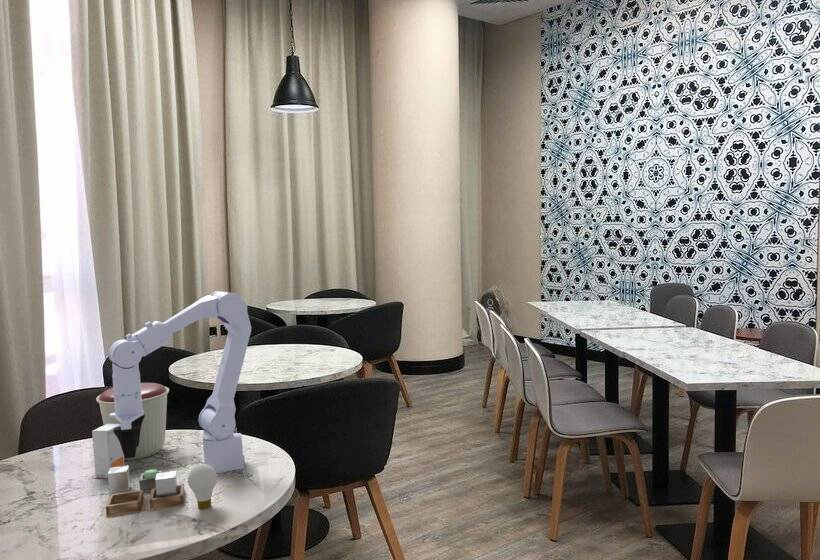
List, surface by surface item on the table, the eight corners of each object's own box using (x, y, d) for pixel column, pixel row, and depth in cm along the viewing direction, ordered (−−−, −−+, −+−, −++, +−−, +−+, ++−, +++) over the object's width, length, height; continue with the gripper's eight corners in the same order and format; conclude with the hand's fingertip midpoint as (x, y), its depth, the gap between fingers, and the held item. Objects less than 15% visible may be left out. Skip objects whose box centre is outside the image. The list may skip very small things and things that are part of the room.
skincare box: (110, 479, 164) (106, 431, 163) (95, 478, 165) (90, 430, 164) (126, 470, 170) (122, 423, 169) (110, 469, 171) (106, 423, 170)
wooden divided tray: (185, 494, 153) (184, 482, 152) (184, 509, 145) (183, 496, 144) (110, 505, 148) (109, 493, 148) (105, 521, 140) (104, 508, 140)
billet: (130, 488, 157) (129, 465, 156) (129, 494, 153) (127, 471, 152) (112, 491, 155) (110, 467, 155) (109, 497, 152) (107, 473, 151)
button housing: (163, 485, 159) (162, 470, 159) (161, 492, 154) (160, 477, 154) (142, 488, 158) (141, 473, 157) (140, 495, 153) (139, 480, 153)
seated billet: (177, 494, 150) (175, 470, 149) (177, 501, 146) (175, 477, 146) (158, 497, 149) (156, 473, 148) (157, 504, 145) (155, 480, 144)
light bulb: (203, 519, 139) (199, 472, 138) (184, 513, 142) (180, 467, 141) (225, 508, 144) (222, 462, 143) (206, 503, 147) (202, 458, 146)
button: (158, 485, 158) (157, 468, 157) (157, 489, 155) (156, 472, 155) (145, 487, 157) (144, 470, 157) (144, 491, 154) (143, 474, 154)
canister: (125, 442, 192) (119, 369, 190) (185, 442, 190) (179, 368, 188) (86, 465, 175) (79, 385, 173) (152, 466, 172) (145, 384, 170)
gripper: (112, 387, 159) (116, 444, 160) (103, 402, 145) (108, 464, 146) (144, 384, 161) (148, 440, 162) (139, 399, 147) (143, 460, 148)
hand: (131, 451), depth 154 cm, fingers open, 7 cm apart
